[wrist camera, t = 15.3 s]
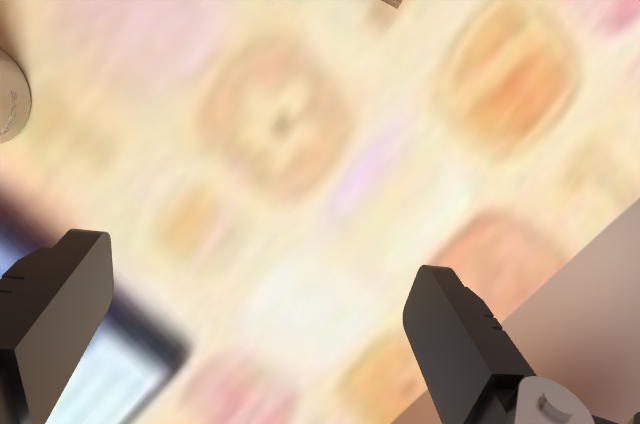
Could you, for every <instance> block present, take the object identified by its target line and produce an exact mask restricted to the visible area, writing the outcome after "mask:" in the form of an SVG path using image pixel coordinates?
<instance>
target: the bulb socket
mask: <svg viewBox="0 0 640 424" xmlns="http://www.w3.org/2000/svg"><path fill="white" fill-rule="evenodd" d="M382 1H384V2H386V3H388V4H390V5H391V6H393V7H395V8H398V7H399V5H400V4H401V2H402V0H382Z"/></svg>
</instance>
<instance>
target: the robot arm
mask: <svg viewBox="0 0 640 424" xmlns="http://www.w3.org/2000/svg"><path fill="white" fill-rule="evenodd" d="M30 107H31V100H30V92H29V88H28V84H27V82H26V79H25V77H24V75H23V73H22V71H21V70H20V69H19V67H18V66H17V64H16V63H15V62H14V61H13V60H12V59H11V58H10V57H9V56H8V55H7V54H6V53H5V52H3V51H2V50H0V143H3V142H5V141H7V140H10V139H12V138H13V137H14V136H16V135H17V134H18V133H19V132H20V131H21V130H22V129H23V127H24V126H25V124H26V122H27V119H28V117H29V113H30ZM113 288H114V280H113V265H112V251H111V239H110V235H109V234H108V233H107V232H101V231H91V230H81V229H70V230H69V231H68V232H67V233H66V234H65V235H64V236H63V237H62V238H61V239H60V240H59V242H58V243H57V244H56V245H55V246H54V247H53V248H43V247H42V248H40V249H38V250H36V251H34V252H32V253H30V254H28V255H27V256H25V257H23V258H21V259H19V260H18V261H17V262H15V263H14V264H13V265H12V266H11V267H10V268H9V269H8V270H7V271H6V272H5V273H4V274H3V275H2V278H1V279H0V424H45V423H46V421H47V419H48V417H49V416H50V414H51V412H52V410H53V408H54V406H55V405H56V403H57V401H58V399H59V397H60V396H61V394H62V392H63V390H64V388H65V386H66V385H67V383H68V381H69V379H70V377H71V376H72V374H73V372H74V370H75V368H76V366H77V365H78V363H79V361H80V359H81V357H82V356H83V354H84V352H85V350H86V348H87V346H88V345H89V343H90V341H91V339H92V337H93V336H94V334H95V332H96V330H97V328H98V327H99V325H100V323H101V321H102V319H103V317H104V316H105V314H106V312H107V310H108V308H109V306H110V303H111V299H112V295H113ZM493 316H494V315H493V314H492V312H491V311H490V309H489V308H488V307H487V305H486V304H485V302H484V301H483V300H482V299H481V298H480V297H478V296H477V295H476V294H475V293H474V292H473V291H471V290H470V289H469V288H468V287H464V285H463V284H462V282H461V281H460V279H459V278H458V276H457V275H456V274H455V272H454V271H453V269H451V268H449V267H440V266H430V265H422V266H421V267H420V268H419V270H418V272H417V275H416V277H415V280H414V283H413V285H412V288H411V291H410V293H409V296H408V299H407V301H406V304H405V307H404V310H403V326H404V330H405V332H406V335H407V337H408V340H409V342H410V345H411V347H412V350H413V352H414V355H415V357H416V360H417V362H418V365H419V367H420V370H421V372H422V375H423V377H424V380H425V382H426V385H427V387H428V389H429V392H430V394H431V397H432V399H433V402H434V404H435V407H436V409H437V412H438V414H439V417H440V419H441V422H442V424H618V423H615V422H612V421H609V420H606V419H602V418H599V417H596V416H593V415H591V414H590V412H589V411H588V410H587V408H586V407H585V405H584V404H583V403H582V402H581V401H580V400H579V399H578V398H577V397H576V396H575V395H574V394H572V393H571V392H570V391H569V390H567V389H566V388H564V387H563V386H561V385H559V384H558V383H556V382H554V381H551V380H549V379H546V378H542V377H539V376H536V374H535V373H534V371H533V370H532V368H531V367H530V366H529V364H528V363H527V361H526V360H525V359H524V357H523V356H522V354H521V353H520V352H519V350H518V349H517V348H516V346H515V345H514V344H513V342H512V340H511V339H510V337H509V336H508V335H507V333H506V332H505V331H503V330H502V326H501V325H500V323H499V322H498V321H497V319H496V318H494V317H493ZM627 424H640V412H638V413H636V414H635V415H634V416H633V417H632V419H631V420H630V421H629V422H628V423H627Z"/></svg>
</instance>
